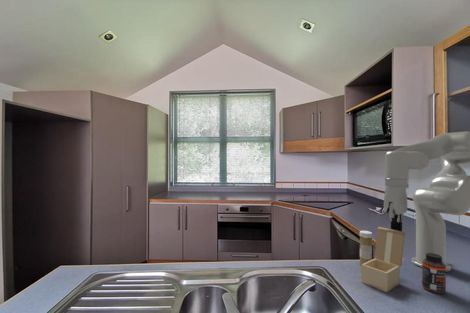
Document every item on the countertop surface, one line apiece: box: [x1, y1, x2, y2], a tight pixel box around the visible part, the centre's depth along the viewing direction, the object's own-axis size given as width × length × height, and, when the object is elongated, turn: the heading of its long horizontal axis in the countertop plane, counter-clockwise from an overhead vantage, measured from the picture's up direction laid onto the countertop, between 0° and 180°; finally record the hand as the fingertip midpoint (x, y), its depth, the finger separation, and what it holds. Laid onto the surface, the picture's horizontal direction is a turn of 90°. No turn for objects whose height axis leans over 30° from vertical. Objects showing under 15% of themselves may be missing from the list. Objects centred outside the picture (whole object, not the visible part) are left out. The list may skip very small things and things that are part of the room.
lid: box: [373, 226, 406, 267], centre depth 87 cm, size 12×8×1 cm
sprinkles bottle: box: [359, 230, 373, 266], centre depth 97 cm, size 5×5×14 cm
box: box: [360, 258, 401, 293], centre depth 82 cm, size 10×8×6 cm
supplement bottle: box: [421, 253, 447, 295], centre depth 79 cm, size 6×6×11 cm
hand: (396, 232), depth 91 cm, fingers closed
